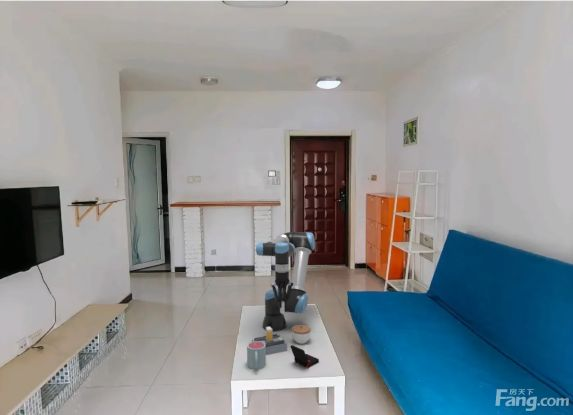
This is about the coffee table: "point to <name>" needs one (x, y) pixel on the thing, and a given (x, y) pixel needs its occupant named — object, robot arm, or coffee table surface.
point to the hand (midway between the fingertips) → (282, 313)
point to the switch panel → (273, 344)
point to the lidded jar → (301, 333)
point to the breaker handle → (269, 335)
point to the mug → (256, 355)
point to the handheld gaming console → (303, 357)
